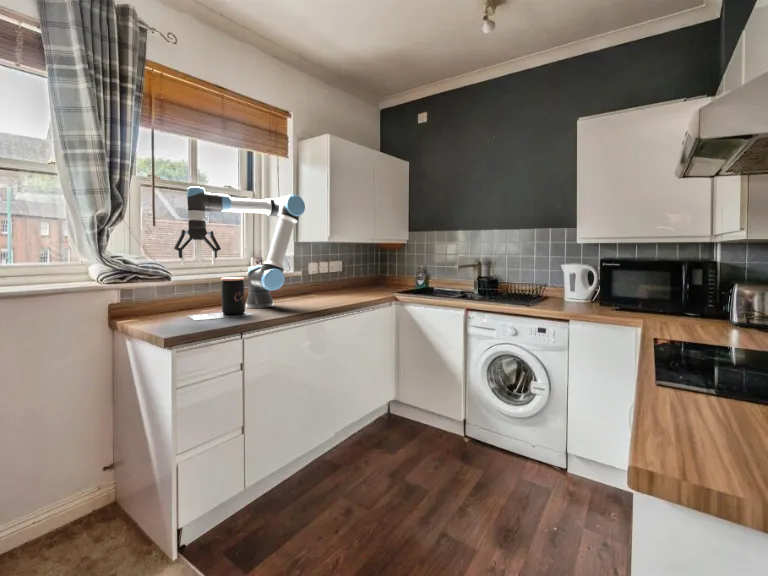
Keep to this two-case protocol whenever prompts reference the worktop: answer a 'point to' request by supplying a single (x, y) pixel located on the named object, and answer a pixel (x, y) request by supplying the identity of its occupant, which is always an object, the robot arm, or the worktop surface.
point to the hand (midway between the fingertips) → (198, 265)
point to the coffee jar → (233, 296)
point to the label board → (214, 316)
